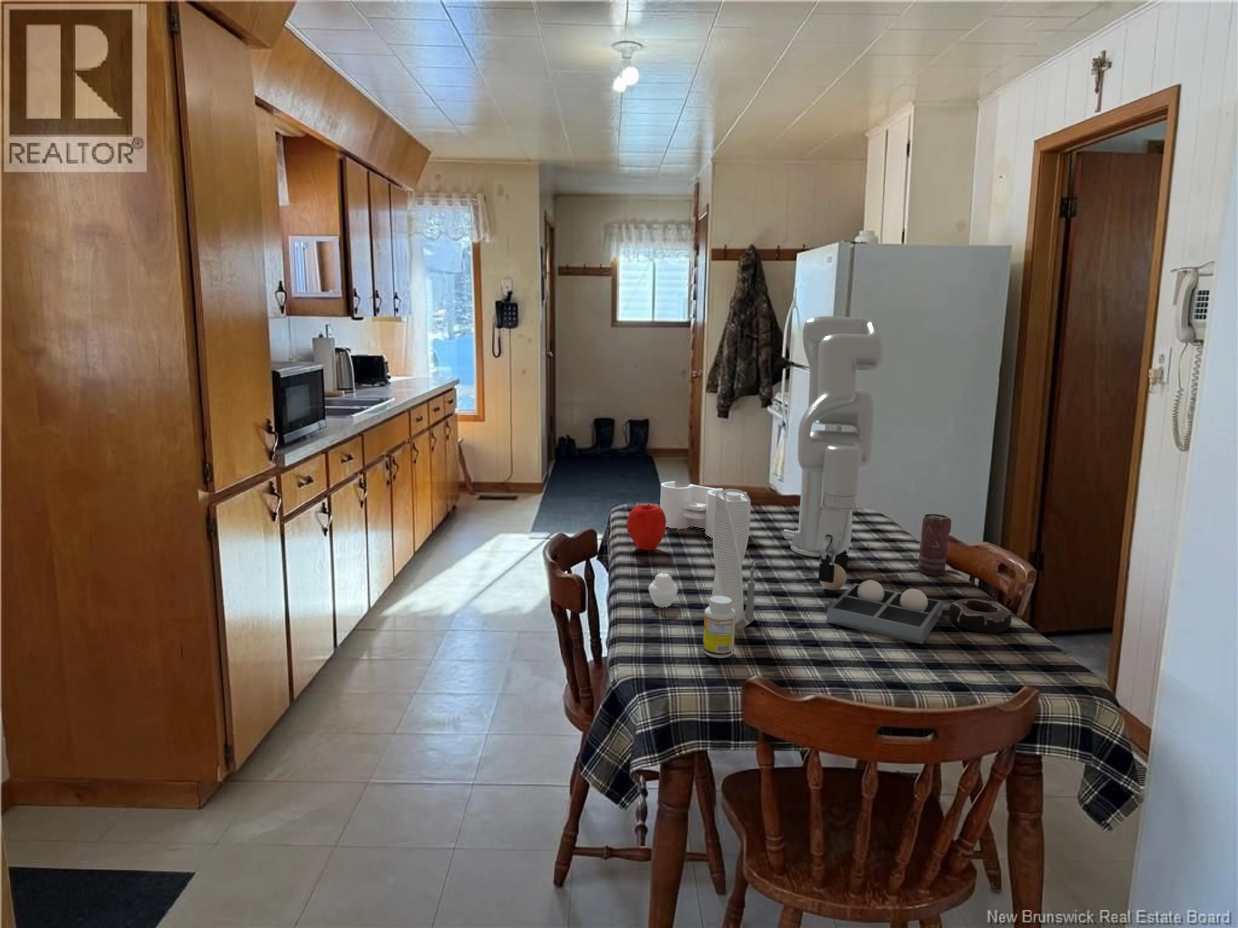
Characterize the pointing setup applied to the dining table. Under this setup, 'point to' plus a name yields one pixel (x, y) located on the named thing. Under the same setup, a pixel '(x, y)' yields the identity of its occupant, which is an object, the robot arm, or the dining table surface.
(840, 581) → the brown egg
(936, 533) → the can
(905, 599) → the white ball
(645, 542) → the apple
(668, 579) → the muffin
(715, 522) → the skyscraper
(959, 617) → the donut
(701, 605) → the dining table surface
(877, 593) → the egg left
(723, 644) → the supplement bottle
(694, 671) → the dining table surface
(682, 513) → the bracket
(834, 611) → the grey shallow tray
